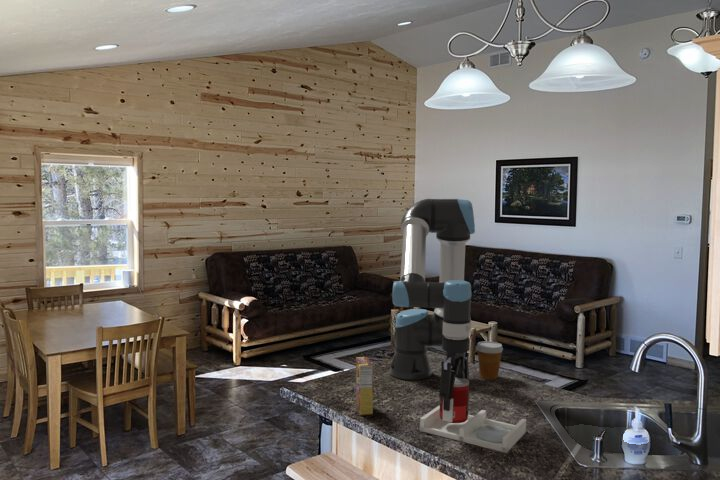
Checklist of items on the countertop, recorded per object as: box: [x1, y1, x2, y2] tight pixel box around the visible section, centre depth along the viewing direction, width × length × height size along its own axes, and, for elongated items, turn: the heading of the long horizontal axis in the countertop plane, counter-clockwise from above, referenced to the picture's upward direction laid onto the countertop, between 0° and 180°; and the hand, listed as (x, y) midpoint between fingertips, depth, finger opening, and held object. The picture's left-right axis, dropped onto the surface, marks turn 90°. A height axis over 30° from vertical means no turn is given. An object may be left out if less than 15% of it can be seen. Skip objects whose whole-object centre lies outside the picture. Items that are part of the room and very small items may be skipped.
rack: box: [419, 404, 527, 453], centre depth 168 cm, size 16×25×4 cm, turn 57°
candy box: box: [355, 356, 374, 416], centre depth 185 cm, size 9×4×15 cm, turn 8°
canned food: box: [439, 377, 470, 423], centre depth 170 cm, size 8×8×11 cm
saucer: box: [476, 425, 509, 443], centre depth 165 cm, size 9×9×1 cm
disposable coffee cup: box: [475, 340, 504, 380], centre depth 219 cm, size 10×10×12 cm
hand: (453, 416), depth 171 cm, fingers closed on canned food, 8 cm apart
